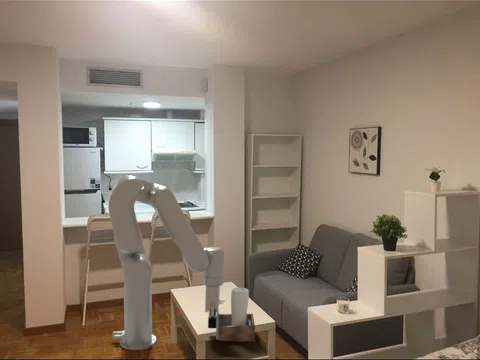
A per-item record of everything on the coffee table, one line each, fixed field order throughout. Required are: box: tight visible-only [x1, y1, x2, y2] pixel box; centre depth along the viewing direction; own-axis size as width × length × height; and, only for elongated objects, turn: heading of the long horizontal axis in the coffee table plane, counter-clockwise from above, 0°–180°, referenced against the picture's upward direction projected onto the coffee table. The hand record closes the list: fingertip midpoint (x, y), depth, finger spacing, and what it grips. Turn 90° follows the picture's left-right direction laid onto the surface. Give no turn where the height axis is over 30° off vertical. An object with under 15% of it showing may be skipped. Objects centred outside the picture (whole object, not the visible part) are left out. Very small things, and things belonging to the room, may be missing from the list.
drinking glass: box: [230, 287, 250, 326], centre depth 154 cm, size 7×7×15 cm
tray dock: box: [217, 313, 256, 343], centre depth 154 cm, size 14×12×6 cm
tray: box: [215, 307, 251, 340], centre depth 154 cm, size 13×12×7 cm
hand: (212, 327), depth 153 cm, fingers closed
